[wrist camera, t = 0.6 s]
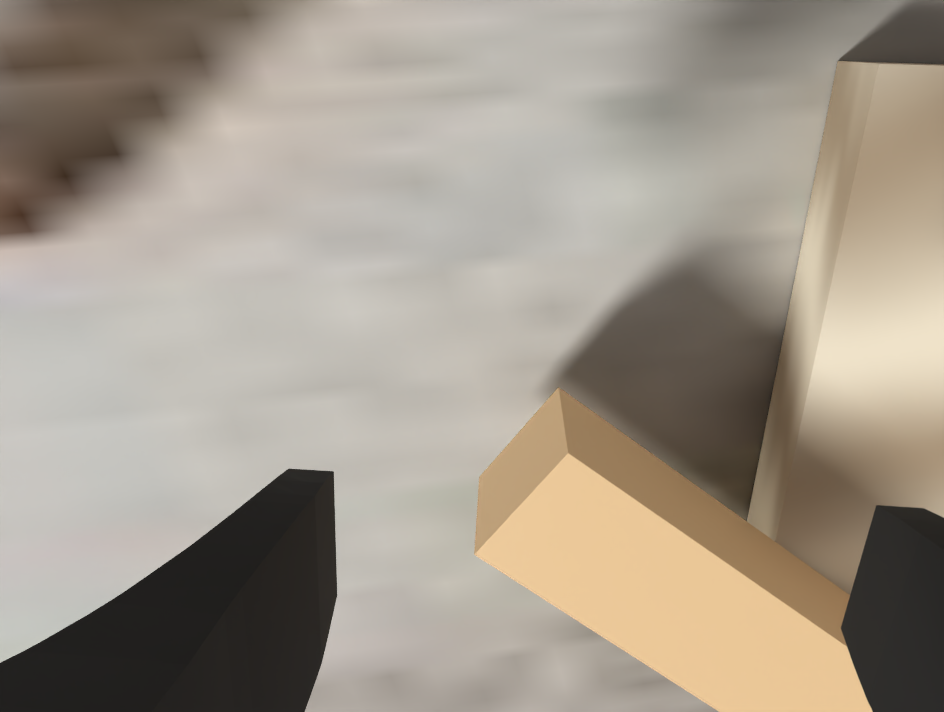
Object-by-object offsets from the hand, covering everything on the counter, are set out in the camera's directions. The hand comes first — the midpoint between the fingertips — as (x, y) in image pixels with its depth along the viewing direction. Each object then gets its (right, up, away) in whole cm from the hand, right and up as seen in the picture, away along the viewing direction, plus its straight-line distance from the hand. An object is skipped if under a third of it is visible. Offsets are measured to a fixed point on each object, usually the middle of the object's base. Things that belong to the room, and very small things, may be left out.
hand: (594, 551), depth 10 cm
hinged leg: (+5, -3, +9) cm, 11 cm away
